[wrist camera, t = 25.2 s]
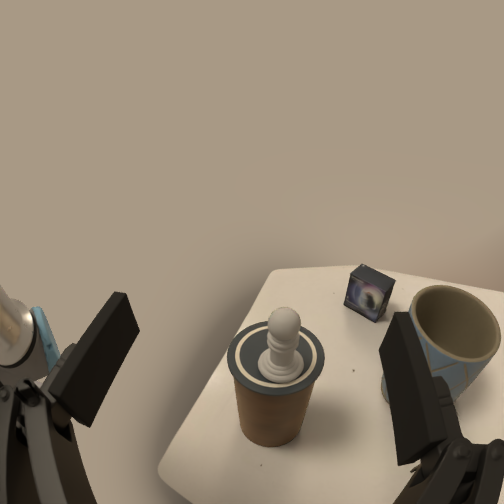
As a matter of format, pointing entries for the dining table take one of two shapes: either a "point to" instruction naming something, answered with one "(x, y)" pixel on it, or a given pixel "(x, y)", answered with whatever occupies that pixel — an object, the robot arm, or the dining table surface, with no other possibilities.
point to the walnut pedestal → (271, 415)
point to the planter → (453, 335)
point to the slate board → (250, 349)
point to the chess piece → (282, 347)
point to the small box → (368, 292)
